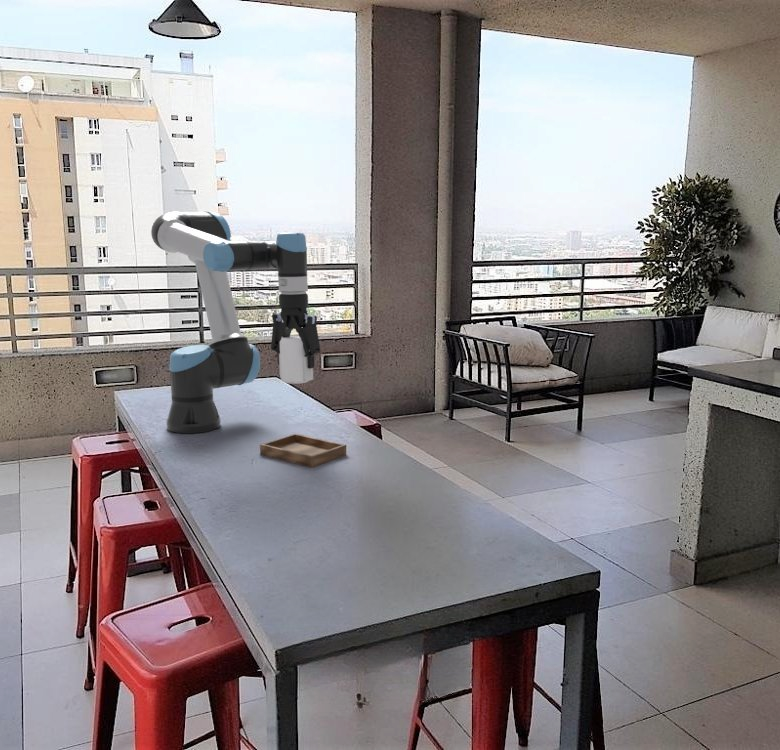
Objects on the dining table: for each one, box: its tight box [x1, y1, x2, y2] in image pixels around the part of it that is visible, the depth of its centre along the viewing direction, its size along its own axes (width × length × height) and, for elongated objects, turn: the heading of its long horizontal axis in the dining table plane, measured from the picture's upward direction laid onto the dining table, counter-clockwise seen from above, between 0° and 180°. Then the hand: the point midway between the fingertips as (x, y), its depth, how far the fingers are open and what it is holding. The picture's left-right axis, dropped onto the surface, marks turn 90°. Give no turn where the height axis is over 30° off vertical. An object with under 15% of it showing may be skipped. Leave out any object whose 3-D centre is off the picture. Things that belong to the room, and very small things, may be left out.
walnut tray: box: [259, 433, 347, 468], centre depth 190 cm, size 18×13×3 cm
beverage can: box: [280, 334, 310, 385], centre depth 196 cm, size 8×8×12 cm
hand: (296, 378), depth 197 cm, fingers closed on beverage can, 8 cm apart
